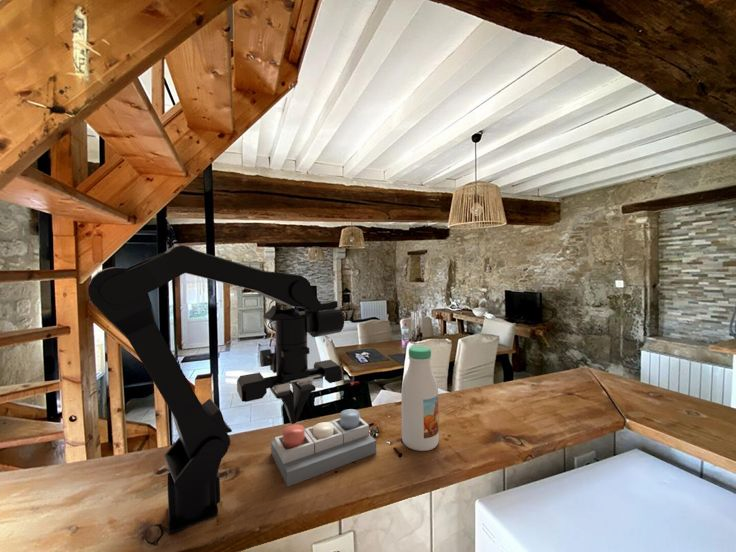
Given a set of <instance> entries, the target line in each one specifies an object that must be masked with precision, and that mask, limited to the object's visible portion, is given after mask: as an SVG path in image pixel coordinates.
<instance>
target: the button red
mask: <svg viewBox="0 0 736 552" xmlns="http://www.w3.org/2000/svg"><path fill="white" fill-rule="evenodd" d="M304 429H305V426H303V425H301V424H290V425H287V426H286V427H285V428H283V430H282V435H283V446H284V447H285V448H287V449H291V448H294V447H297V446H300V445H303V444H304V443H305V430H304Z"/></svg>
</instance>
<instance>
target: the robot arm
mask: <svg viewBox="0 0 736 552" xmlns="http://www.w3.org/2000/svg"><path fill="white" fill-rule="evenodd" d="M184 274H188V275H191V276H196V277H199V278H203V279H206V280H211V281H215V282H219V283H222V284H226V285H227V284H228V285H230V286H234V287H238V288H243V289H247V290H251V291H253V292H255V293H257V294H259V295H261V296H262V297H265V298H266V299H268V300H272V301H274V302H275V303H278V304H282V305H286V306H291V307H289V308H280V307H279V306H276V305H272V306H271V307H270V309H269V310H268V311H267V312H266V313H264V315H263V316H262V317H263V319H265V320H269V321H272V322H274V324H275V326H274V327H275V328H274V329H275V344H274V352H272V349H271V348H269V349H262V350H259V362H260V367H261V368H263V367H269V366H270V367H269V368H270V371H272V372H273V374H276V375H271V376H268V377H264V376H263V375H262V373H261V372H254V373H250V374H244V375H239V377H238V378H237V380H236V391H237V393H238V395H239V398H240V400H241V402H245V403H246V402H251V401H256V400H260V399H264V397H265V396H266V394H267V393H268V392H267V390H268V389H269V390H270V391H271V392H272V394H273V395H274V397H275V398H276V399H277V400H281V402H282V403H283V406H284V409H285V411H286V414H287V416H288V419H289V422H290V425H296V424H297V422H298V419H299V418H300V415H301V412H302V411H303V408H304V406H305V404H306V401H308V398H309V397H310V395H311V393H312V392H314V391H316V385H314V384H313V383H314V379H320V378H324V380H325V381H326V382H327V383H328V384H333V383H336V382H340V381H341V382H342V381H343V380H344V370H343V368H342V366H341V365H340V364H339V363H337V362H334V361H333V360H332V359H326V360H321V361H316V362H314V364H313V368H309V367H308V364H309V363H308V355H310V347H308V334H309V335H310V337H313V338H317V337H323V336H329V335H335V334H339V333H341V332H342V331H343V329H344V326H345V317H344V315H343V313H342V310H341V308H339V305H338V303H339V302H338V301H337V300H334V299H331V300H325V301H322V302H321V301H320V300H319V299H318V297H317V296H316V295H315V293H314V291H313V290H312V286H311V283H310V280H309V278H307V276H304V275H302V274H296V273H286V272H278V271H267V270H262V269H259V268H257V267H252V266H249V265H246V264H243V263H239V262H235V261H233V260H229V259H226V258H223V257H219V256H215V255H213V254H209V253H205V252H203V251H200V250H196V249H194V248H193V247H191V246H189V245H177V246H172V247H170V248H168V249H167V250H166V251H164V252H162V253H159V254H156V255H155V256H152V257H150V258H147V259H145V260H142V261H141V262H140V261H139V262H137V263H135V264H133V265H130V266H129V267H126V268H125V267H117V266H112V267H108V268H104V269H102V270H100V271H98V272H97V273H96V274H94V275H93V276H92V278H91V279H90V282H89V284H88V288H87V292H88V293H87V294H88V296H89V297H88V298H89V299H90V301H91V303H92V304H93V305H94V306H95V308H97V309H98V311H99V312H100V313H101V314H102V315H103V316H104V317H105V318H106V319H107V320H108V321H109V322H110V323H111V324H112V325H113V326H114V327H115V328H116V329H117V330H118V331H119V332H120V333H121V334H122V335H123V336H124V337H125V338H126V340H128V342H129V343H130V346H131V348H133V350H134V352H135V354H136V355H137V357H138V359H139V360H140V362H141V364H142V365H143V367H144V368H145V370H146V372H147V373H148V375H149V376H150V379H151V380H152V381H153V383H154V385H155V387H156V389H157V390H158V392H159V393H160V395H161V396H162V398H163V401H164V402H165V404H166V405H167V406H168V408H169V410H170V412H171V413H172V417H173V421H174V425H175V429H176V430H177V434H178V438H177V440H175V442H174V443H173V444H172V445H171V447H169V449H168V450H167V451H166V453H165V454H164V458H165V462H166V465H167V467H168V469H169V472H168V473H167V505H168V506H167V508H168V509H167V511H168V512H167V513H168V514H167V515H168V516H167V533H168V535H170V534H174V533H177V532H179V531H182V530H184V529H187V528H189V527H192V526H195V525H197V524H200V523H202V522H205V521H208V520H210V519H213V518H215V517H217V516H218V515H219V507H218V504H220V502H221V483H220V482H221V481H220V474H219V469H220V465H221V462H222V459H223V458H224V457H225V455H226V454H227V452H228V450H229V447H230V446H231V438H230V435H229V434H230V433H231V432H233V429H232V428H231V427H230V426H229V425H228V423H227V422H226V421H225V420H224V416H223V413H222V410H221V409H220V408H219V407H218V406H217V405H216V403H215V402H214V401H213V400H212V398H208V399H206V400H205V402H203V403H202V402H201V401H200V400H199V398H198V396H197V394H196V393H195V390H194V389H193V387H192V386H191V384H190V381H188V379H187V377H186V375H185V373H184V371H183V370H182V368H181V366H180V364H179V362H178V361H177V358H175V355H174V354H173V352H172V350H171V348H170V347H169V345H168V343H167V341H166V339H165V338H164V336H163V334H162V332H161V331H160V329H159V326H158V325H157V320H156V318H155V313H154V308H153V304H152V302H151V298H150V295H149V293H151V292H152V291H155V290H156V289H158V288H160V287H163V286H164V285H166V284H168V283H169V282H171V281H173V280H175V279H177V278H178V277H180V276H182V275H184ZM296 308H299V309H304V311H303V310H301V311H299V310H298V309H296ZM290 385H291V386H292V387H290ZM291 388H292V390H291ZM228 433H229V434H228Z"/></svg>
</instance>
